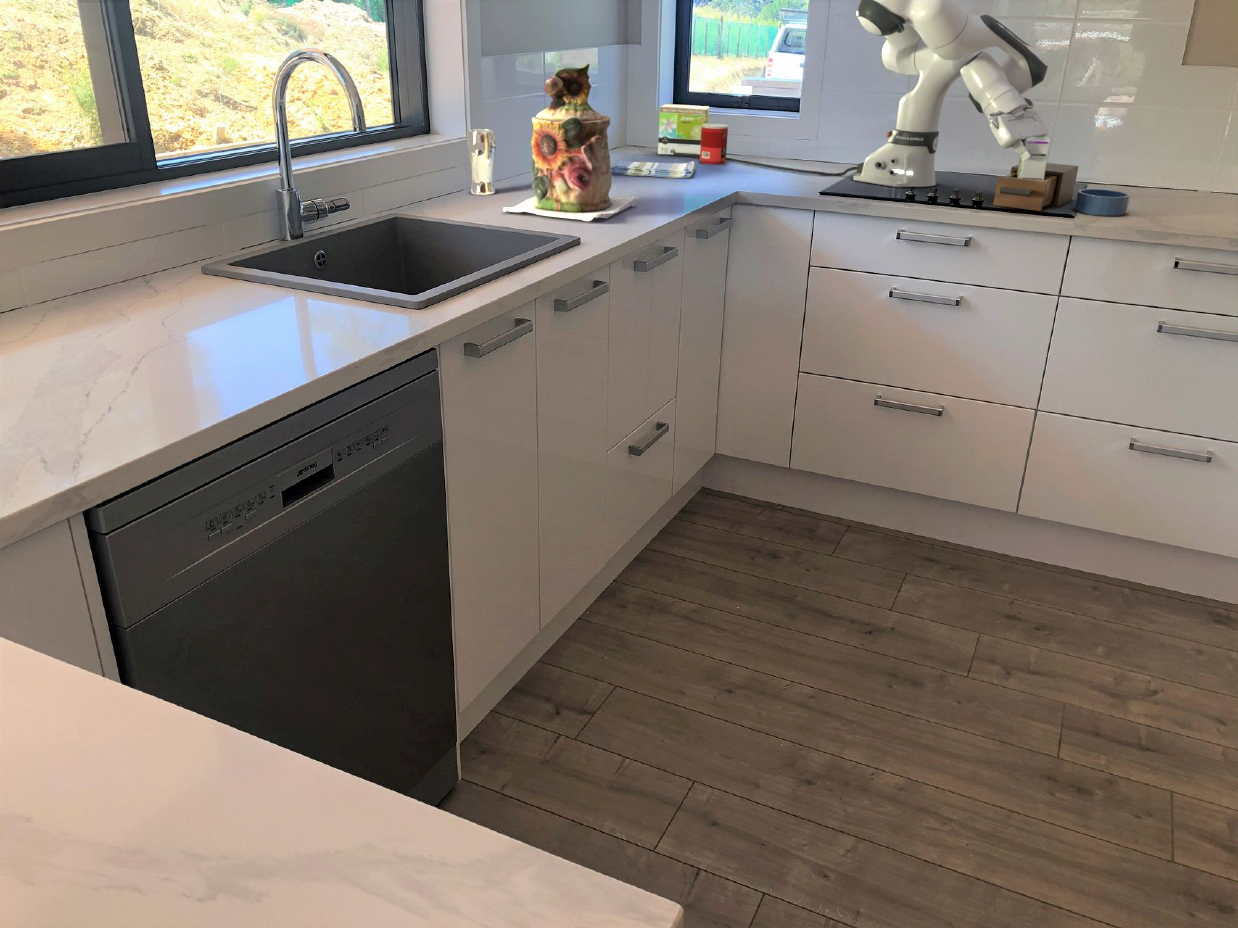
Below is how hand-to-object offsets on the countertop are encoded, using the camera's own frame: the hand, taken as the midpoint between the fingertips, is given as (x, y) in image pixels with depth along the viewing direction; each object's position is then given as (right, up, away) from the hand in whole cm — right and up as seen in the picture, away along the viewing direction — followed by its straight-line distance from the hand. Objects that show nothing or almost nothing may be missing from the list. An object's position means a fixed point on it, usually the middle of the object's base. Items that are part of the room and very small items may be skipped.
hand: (1037, 156), depth 246 cm
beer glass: (-136, -7, +8) cm, 137 cm away
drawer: (-3, -11, +2) cm, 12 cm away
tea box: (-82, +25, +79) cm, 117 cm away
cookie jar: (-113, -16, -10) cm, 115 cm away
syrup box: (-1, -9, +4) cm, 10 cm away
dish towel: (-92, +8, +43) cm, 102 cm away
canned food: (-73, +17, +64) cm, 99 cm away
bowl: (+16, -13, +1) cm, 21 cm away
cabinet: (+6, -7, +14) cm, 17 cm away
